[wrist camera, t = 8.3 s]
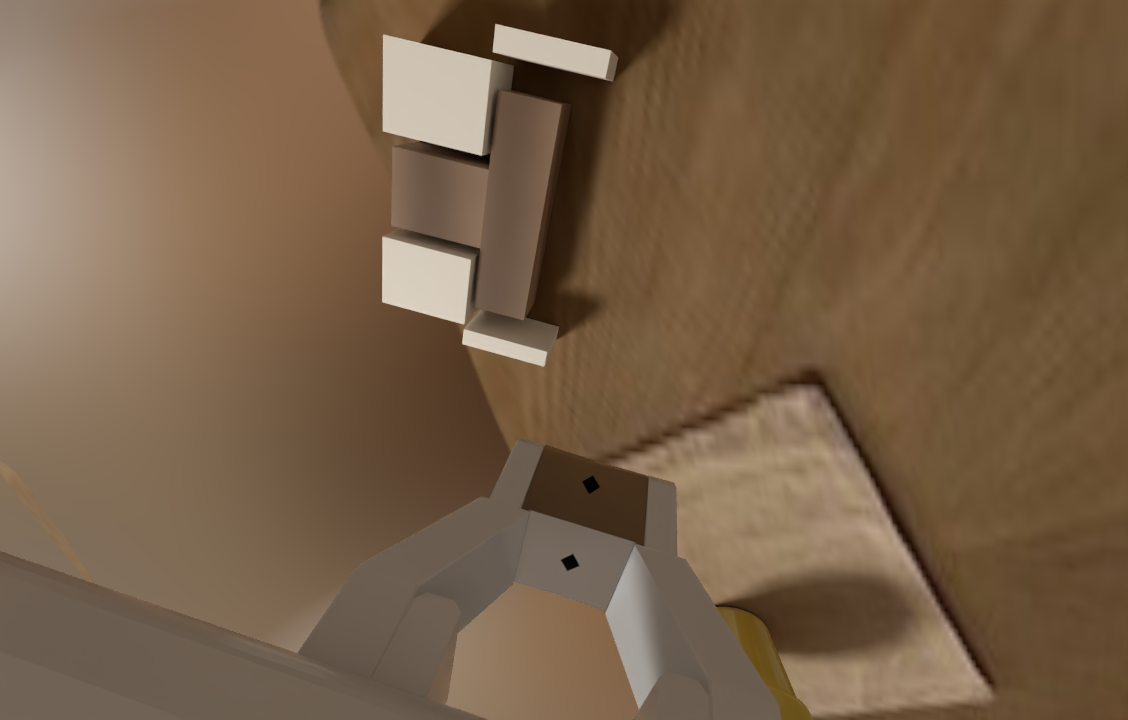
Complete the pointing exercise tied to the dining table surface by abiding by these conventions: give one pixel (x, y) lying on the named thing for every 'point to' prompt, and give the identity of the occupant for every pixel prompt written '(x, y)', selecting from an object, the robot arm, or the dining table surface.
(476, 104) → the cream T dock
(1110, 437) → the dining table surface
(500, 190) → the walnut T block
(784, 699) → the plant pot
